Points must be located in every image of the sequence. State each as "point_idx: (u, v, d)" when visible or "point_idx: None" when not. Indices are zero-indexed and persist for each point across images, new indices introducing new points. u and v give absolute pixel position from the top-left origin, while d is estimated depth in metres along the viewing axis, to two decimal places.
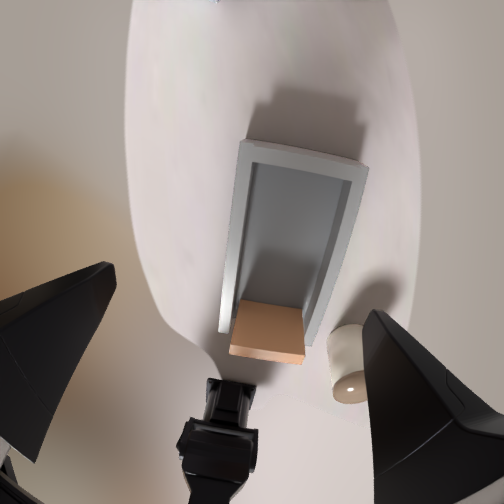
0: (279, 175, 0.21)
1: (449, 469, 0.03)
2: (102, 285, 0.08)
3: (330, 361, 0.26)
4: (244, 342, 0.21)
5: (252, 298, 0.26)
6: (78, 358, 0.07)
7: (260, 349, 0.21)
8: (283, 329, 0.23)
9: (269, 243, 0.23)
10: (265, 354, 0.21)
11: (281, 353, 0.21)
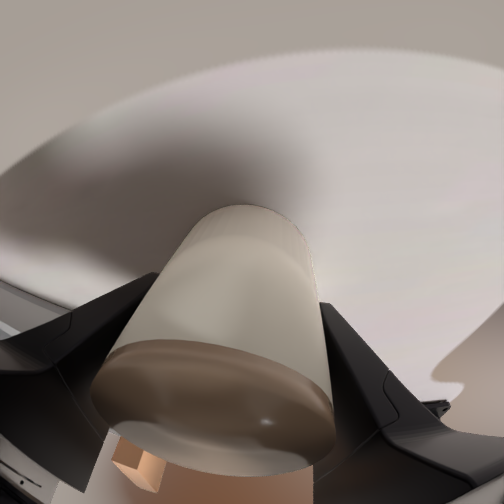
0: None
1: (373, 487, 0.03)
2: None
3: None
4: None
5: None
6: None
7: (130, 478, 0.10)
8: None
9: None
10: (135, 480, 0.09)
11: (123, 471, 0.09)
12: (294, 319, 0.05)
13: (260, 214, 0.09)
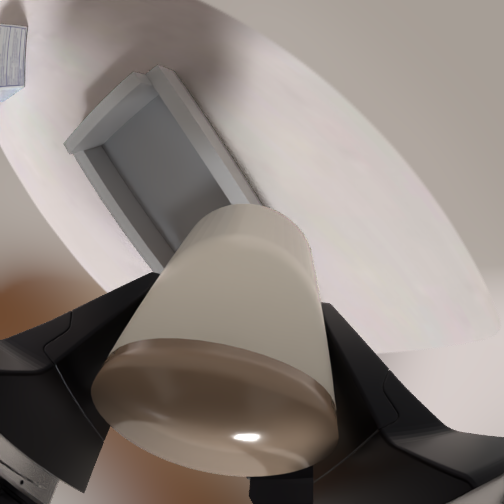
0: (126, 143, 0.18)
1: (373, 487, 0.03)
2: None
3: None
4: None
5: None
6: None
7: None
8: None
9: (169, 203, 0.20)
10: None
11: None
12: (297, 318, 0.05)
13: (262, 213, 0.09)
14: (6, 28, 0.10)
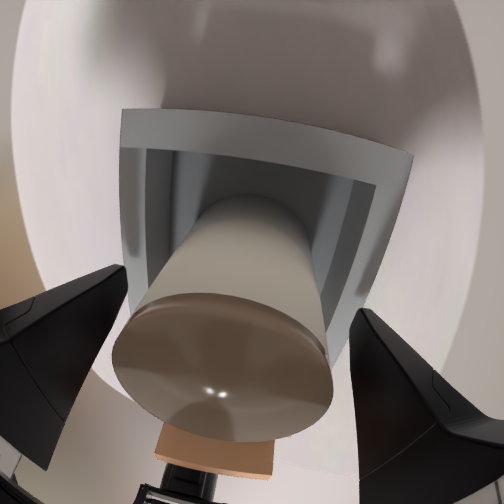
0: (222, 174, 0.10)
1: (432, 474, 0.03)
2: (115, 288, 0.08)
3: None
4: (176, 451, 0.11)
5: None
6: (90, 363, 0.07)
7: (200, 464, 0.10)
8: None
9: None
10: (209, 469, 0.11)
11: (233, 471, 0.10)
12: (294, 283, 0.06)
13: (263, 202, 0.10)
14: None
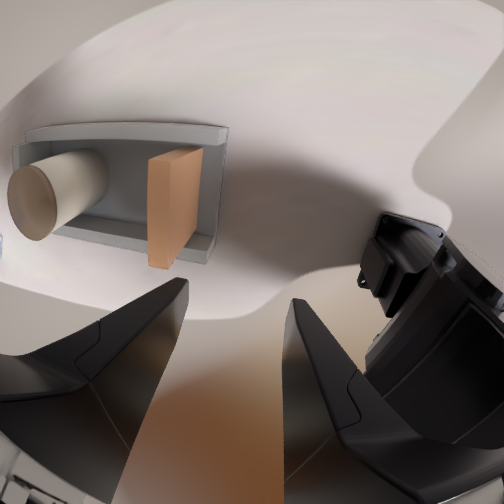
0: None
1: (331, 491, 0.03)
2: (180, 304, 0.08)
3: (85, 187, 0.16)
4: None
5: None
6: (156, 386, 0.07)
7: (148, 227, 0.14)
8: None
9: (111, 194, 0.20)
10: (155, 220, 0.14)
11: (148, 196, 0.13)
12: None
13: None
14: None
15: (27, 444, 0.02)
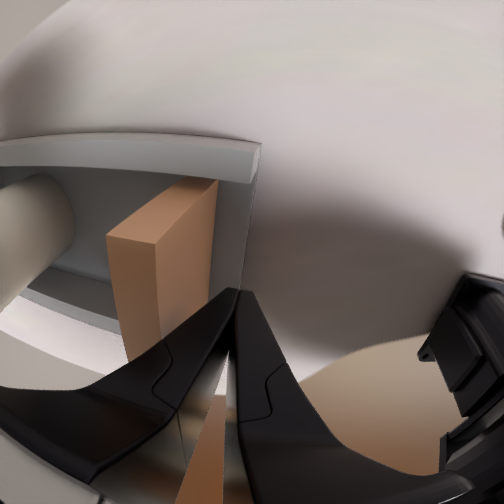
0: None
1: (234, 488, 0.03)
2: None
3: (33, 244, 0.09)
4: None
5: None
6: None
7: (127, 350, 0.07)
8: None
9: (80, 243, 0.13)
10: (137, 344, 0.07)
11: (118, 306, 0.06)
12: None
13: None
14: None
15: (125, 496, 0.02)
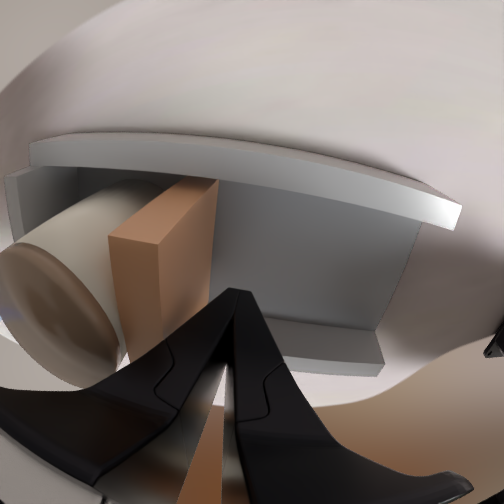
0: None
1: (231, 487, 0.03)
2: None
3: None
4: None
5: (336, 300, 0.13)
6: (213, 399, 0.07)
7: (129, 350, 0.07)
8: None
9: (212, 269, 0.13)
10: (139, 344, 0.07)
11: (120, 307, 0.06)
12: None
13: None
14: None
15: (128, 497, 0.02)
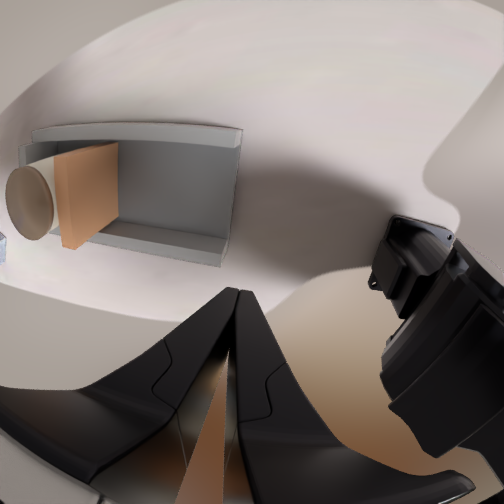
0: None
1: (234, 487, 0.03)
2: None
3: None
4: None
5: (192, 212, 0.20)
6: None
7: (58, 213, 0.14)
8: None
9: (121, 195, 0.20)
10: (61, 206, 0.14)
11: (55, 187, 0.13)
12: None
13: None
14: None
15: (124, 496, 0.02)
